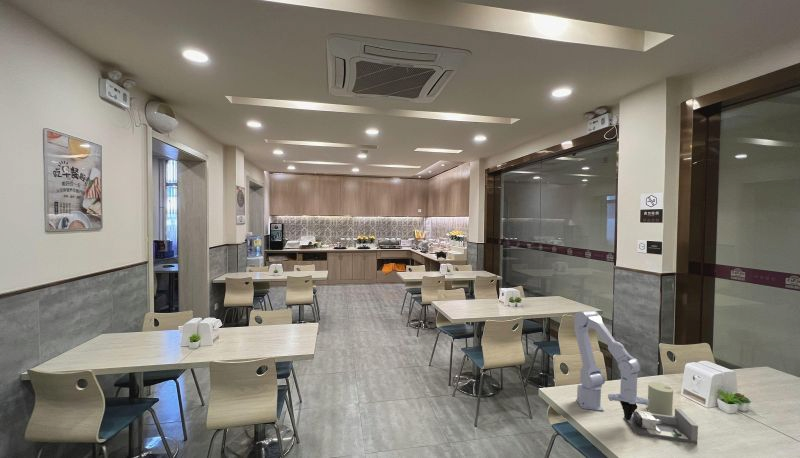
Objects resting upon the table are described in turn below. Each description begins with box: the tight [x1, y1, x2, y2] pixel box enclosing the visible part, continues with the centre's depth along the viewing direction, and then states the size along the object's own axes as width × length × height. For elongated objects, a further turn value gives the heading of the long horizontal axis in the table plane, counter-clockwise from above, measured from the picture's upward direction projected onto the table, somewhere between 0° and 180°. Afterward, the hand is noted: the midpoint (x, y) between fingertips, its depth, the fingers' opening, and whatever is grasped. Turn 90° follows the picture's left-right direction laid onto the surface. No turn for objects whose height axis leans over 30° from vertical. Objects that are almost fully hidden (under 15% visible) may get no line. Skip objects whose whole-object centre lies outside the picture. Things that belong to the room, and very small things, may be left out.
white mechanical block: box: [634, 409, 662, 434], centre depth 138 cm, size 9×10×4 cm
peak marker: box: [673, 429, 681, 437], centre depth 133 cm, size 1×3×1 cm, turn 166°
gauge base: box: [623, 408, 699, 445], centre depth 139 cm, size 21×12×7 cm, turn 76°
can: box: [646, 381, 674, 416], centre depth 153 cm, size 9×9×12 cm
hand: (627, 418), depth 142 cm, fingers closed
